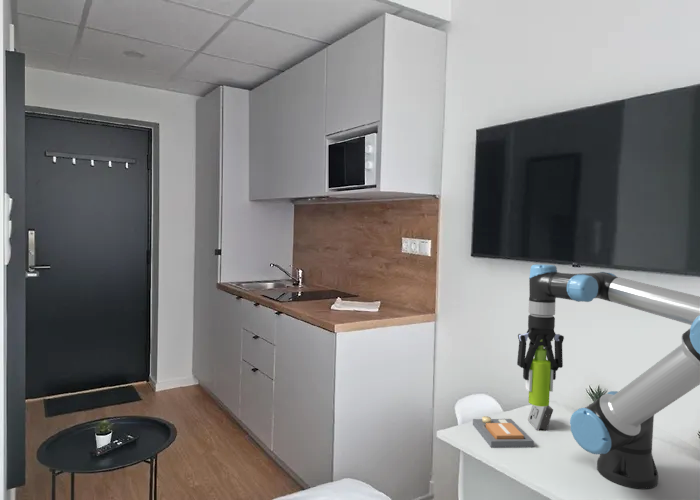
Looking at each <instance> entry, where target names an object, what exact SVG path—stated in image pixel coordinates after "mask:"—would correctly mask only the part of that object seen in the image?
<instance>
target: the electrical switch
mask: <svg viewBox="0 0 700 500" xmlns="http://www.w3.org/2000/svg"><path fill="white" fill-rule="evenodd" d="M553 412H554V409H553V408H552V406H550V404H549V405H548V406H544V407H543V406H535V405H532V404H531V408H530V410H529V414H528V417H527V420H528V423H530V424H531V425H532V427H533V428H534V429H535V430H536V431H539V430H540V429H541V430H544V431H547V429H548V427H549V424H550V421H551V418H552V415H553Z"/></svg>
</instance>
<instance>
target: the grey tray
mask: <svg viewBox="0 0 700 500" xmlns="http://www.w3.org/2000/svg"><path fill="white" fill-rule="evenodd" d="M486 423H512V424H513V425H514V426H515V427H516V428H517V429H518V430H519V431H520V432H521V433H522V434H523V435H524V439H495V438H494V437H493V436H492V434H491V433H490V432H489V431H488V430H487V429H486ZM472 426H473V427H474V428H475V430H476V431H477V432H478V434H480V436H481V437H482V438H483V440H485V442H486V443H487V444H488V445H489V447H490V448H492V449H493V448H534V446H535V440H534V439H533V438H531V437H530V436H529V435H528V434H527V433H526V432H525V431H524V430H523V429H522V428H521V427H520V426H519V425H518V424H517V423H516V422H515V421H514V420H513V419H512V418H492V417H490V416H482V417H481V418H473V419H472Z"/></svg>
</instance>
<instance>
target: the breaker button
mask: <svg viewBox="0 0 700 500" xmlns="http://www.w3.org/2000/svg"><path fill="white" fill-rule="evenodd" d="M486 429H487V430H488V431H489V432H490V433H491V434H492V436H493V437H494V438H495V439H524V435H523V434H522V433H521V432H520V431H519V430H518V429H517V428H516V427H515V426H514V425H513V424H512V423H486Z"/></svg>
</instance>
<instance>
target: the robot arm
mask: <svg viewBox="0 0 700 500" xmlns="http://www.w3.org/2000/svg"><path fill="white" fill-rule="evenodd" d="M557 269H558V268H557V266H556V265H554V264H544V263H541V264H540V263H539V264H537V263H536V264H532V265H531V266H530V269H529V278H528V280H529V284H528V286H529V297H528V298H529V299H528V313H529V315H528V321H527V328H528V329H527V331H526V332H525V333H523V334H522V333H518V335H517V337H518V341H519V342H518V351H517V363H516V364H517V366H519V367H520V368H522V369H523V370H522V371H523V373H522V377H523V380H525V384H524V385H525V386H524V387H525V388H524V389H525V390H526V391H527V392H528V393H529V392H532V370H531V369H530V367H531V364H532V361H533V358H534V355H535V352H536V349H538V346H541V345H543V346H544V348H545V349H546V350H547V352H546V360H549V361H550V362H551V365H550V393H551V392H553V391H554V388H553V387H554V381H555V380H556V378H557V371H558V370H559V369H561V368H563V366H564V365H563V360H564V359H563V342H564V340H565V336H564V335H562V334H560V333H556V332H555V328H556V327H555V326H556V325H555V324H556V317H555V315H556V299H562V300H563V299H564V300H569V301H574V302H585V303H590V302H592V301H593V300H594V299H600V300H604V301H607V302H611V303H614V304H618V305H621V306H624V307H625V306H626V307H627V308H632V309H635V310H639V311H642V312H645V313H649V314H651V315H654V316H658V317H659V316H660V317H663V318H665V319H670V320H672V321H676V322H680V323H683V324H687V325H689V326H690V328H688V329H687V330H686V331H684V332H683V333H682V335H681V344H680V345H678V346H677V347H676V348H675V349H674V350H672V351H670V353H668V354H666V355H665V356H664V357H662V358H661V359H660V360H658V361H657V362H656V363H655V364H654V365H652V366H651V367H650V368H648V369H646V370H645V371H643V373H641V374H640V375H639V376H638V377H636V378H635V379H632V380H631V382H629V383H628V384H627V385H625V386H624V387H623V388H621V389H620V390H618V391H616V390H613V391H612V390H611V391H608V392H607V393H604V394H602V395H601V396H600V397H598V398H597V399H595V401H593V402H592V403H590V404H589V405H587V406H586V407H581V408H578V409H576V410H574V412H573V413H572V414H571V416H570V419H569V425H570V427H569V428H570V431H571V435H572V437H573V439H574V441H575V442H576V443H577V444H578V446H579V447H580V448H582V449H583V450H584V451H586V452H588V453H590V454H592V455H599V457H598V458H597V461H596V470H597V472H598V473H599V474H600V475H601V476H602V477H604V478H605V479H606V480H608V481H610V482H613V483H615V484H618V485H621V486H624V487H628V488H633V489H641V490H643V489H646V490H647V489H652V488H654V487H657V485H658V484H659V473H658V469H657V467H656V464H655V460H654V456H653V452H652V451H653V437H654V421H655V420H654V418H655V415H656V414H657V413H659V412H661V411H662V410H664V409H666V408H667V407H668V406H670V405H671V404H673V403H674V402H675V401H677V400H679V399H680V398H682V397H683V396H685V395H686V394H688V393H689V392H690V391H692V390H694V389H695V388H696V387H697V388H698V386H700V296H699V295H694V294H691V293H687V292H682V291H678V290H673V289H671V288H670V289H669V288H666V287H660V286H656V285H653V284H649V283H645V282H641V281H636V280H633V279H627V278H623V277H619V276H616V275H615V274H614V273H612V272H611V273H610V272H605V271H600V272H588V273H587V272H585V273H583V272H582V273H581V272H580V273H569V272H567V273H565V272H558V270H557ZM528 339H529V344H528V349H527V341H528ZM541 339H542V341H541ZM552 340H553V341H554V351H553V345H552V342H553V341H552ZM540 341H541V342H540ZM526 351H527V352H526Z"/></svg>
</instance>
